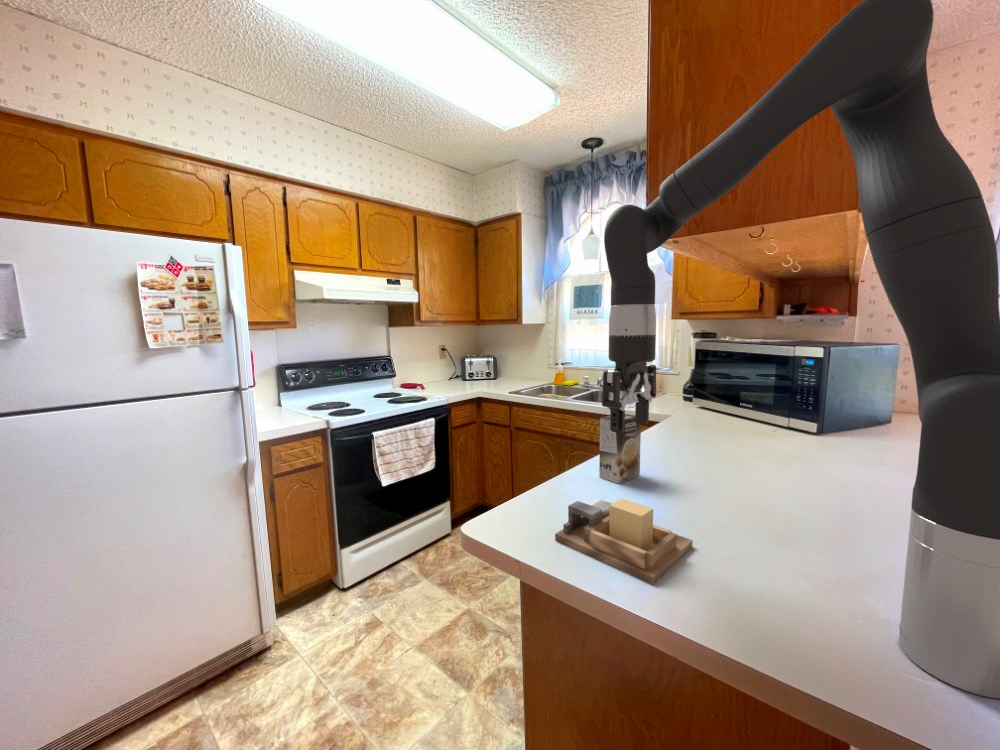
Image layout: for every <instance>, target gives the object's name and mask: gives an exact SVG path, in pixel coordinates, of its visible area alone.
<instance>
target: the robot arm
mask: <svg viewBox="0 0 1000 750" xmlns="http://www.w3.org/2000/svg"><path fill="white" fill-rule="evenodd" d="M933 7H934V6H933V3H932V0H862V1H861V2H860V3H858V4H857V5H855V6H854V7H853V8H852V9H850V11H848V12H847V13H846V14H845V15H844V16H842V17H841V18H840V19H839V20H838V21H837V22H836V23H835V24H834V25H833V26H832V27H831V28H830V29H829V30H828V31H827V32H826V33H825V34H824V35H823V36H822V37H821V38H819V40H818V41H816V43H815V44H813V46H812V47H811V48H810V49H809V50H808V51H807V52H806V53H805V54H804V56H802V58H801V59H799V60H798V62H796V63H795V64H794V65H793V66H792V67H791V68H790V69H789V70H788V71H787V72H786V73H785V74H784V75H783V76H782V77H781V78H780V79H779V80H778V81H777V82H776V83H775V84H774V85H773V86H771V88H770V89H769V90H768V91H767V92H766V93H765V94H764V95H762V97H760V99H759V100H757V101H756V102H755V103H754V104H753V105H752V106H751V107H750V108H749V109H748V110H747V111H746V112H744V113H743V114H742V116H740V117H739V118H738V119H737V120H736V121H734V122H733V124H731V125H730V126H729V127H728V128H726V130H725V131H723V132H722V133H721V134H719V135H718V136H717V137H716V138H715V139H714V140H713V141H711V142H710V143H709V144H707V145H706V146H705V147H704V148H703V149H701V150H700V151H699V152H697V153H696V154H695V155H694V156H693V157H691V158H690V159H689V160H688V161H686V162H685V163H684V164H682V165H681V166H680V167H678V169H676V170H675V171H674V172H673V173H671V174H670V175H669V176H667V177H666V179H664V180H663V181H662V182H661V184H660V186H659V190H658V193H659V194H658V195H659V196H657V197H656V198H655V199H653V201H652V202H651V203H650V204H649V205H648V206H646V207H645V208H642V207H640V206H637V205H636V204H635V205H633V204H624V205H621V206H618V208H616V209H615V210H614V211H612V213H611V214H610V215H609V217H608V218H607V221H606V224H605V227H604V233H603V243H604V251H605V256H606V262H607V267H608V272H609V276H610V279H611V280H610V282H611V283H610V311H609V319H608V359H609V361H611V362H614V363H615V365H614V366H615V367H614V370H612V369H610V370H609V369H604V370H603V372H602V373H603V375H602V395H601V396H602V397H601V405H602V408H603V407H604V408H607V409H608V410H610V415H609V416H610V429H611V431H612V432H616V433H622V432H624V430H625V414H626V411H625V410H626V409H625V408H626V406H627V403H628V401H629V400H631V399H632V398H633V397H634V399H635V400H636V402H635V411H634V413H635V414H634V415H635V421H636V422H637V423H641V425H646V424H648V423H649V421H650V419H649V418H650V417H649V416H650V403H652V399H655V398H656V397H657V366H656V364H647V363H650V362H653V361H655V360H656V341H657V338H656V337H657V313H656V305H655V304H656V276H655V275H656V274H655V273H654V271H653V270H652V269H651V267H650V266H649V262H648V254H650V253H652V252H653V251H655V250H657V249H658V248H660V247H661V246H663V245H664V244H665V243H666V242H667V241H668V240H669V239H670V238H672V236H673V235H675V234H676V233H677V232H678V231H679V230H680V229H681V228H682V227H683V226H684V225H685V224H686V223H687V221H689V219H691V218H693V217H694V216H696V215H698V214H699V213H701V212H702V211H704V210H705V209H706V208H707V207H709V206H711V204H713V203H715V202H716V201H718V200H719V199H720V198H722V197H723V196H725V195H726V194H727V193H729V192H730V191H731V190H733V189H734V188H735V187H736V186H738V185H739V184H740V183H741V182H742V181H743V180H744V179H746V177H748V176H749V175H750V174H751V173H752V172H753V171H754V170H755V168H757V167H758V165H760V164H761V163H762V162H763V160H765V158H767V156H769V154H770V153H772V151H774V150H775V148H777V147H778V146H779V145H780V144H781V143H782V142H783V141H784V140H786V138H788V137H789V136H791V134H792V133H794V132H795V131H796V130H798V129H800V127H802V126H803V125H804V124H805V123H807V122H809V121H810V120H811V119H812V118H814V117H816V116H817V115H819V114H820V113H821V112H823V111H824V110H826V109H828V108H830V109H831V110H832V113H833V114H834V116H835V118H836V120H837V122H838V124H839V127H840V129H841V131H842V132H843V135H844V137H845V140H846V142H847V145H848V146H849V149H850V152H851V155H852V158H853V162H854V168H855V171H856V172H855V173H856V181H857V184H856V185H857V193H858V194H857V195H858V202H859V209H860V215H861V218H862V223H863V229H864V233H865V237H866V241H867V244H868V248H869V251H870V254H871V257H872V260H873V263H874V267H875V269H876V271H877V275H878V277H879V279H880V283H881V284H882V287H883V290H884V292H885V294H886V297H887V298H888V302H889V303H890V306H891V307H892V310H893V311H894V314H895V315H896V318H897V320H898V321H899V323H900V326H901V327H902V330H903V332H904V334H905V336H906V339H907V343H908V346H909V350H910V354H911V358H912V366H913V369H914V370H913V371H914V376H915V384H916V392H917V401H918V403H917V405H918V406H917V407H918V416H919V417H918V418H919V421H920V423H921V428H920V438H919V448H918V449H919V450H918V460H917V469H916V475H915V476H916V477H915V482H914V485H913V487H912V493H911V494H912V496H911V509H910V519H909V530H908V539H907V540H908V542H907V552H906V559H905V560H906V561H905V569H904V573H905V574H904V581H903V590H902V591H903V592H902V601H901V612H900V621H899V629H898V630H899V633H898V634H899V635H898V645H899V648H900V649H901V650H902V652H903V654H904V655H905V656H906V657H907V658H908V659H909V660H910V661H912V663H914V664H915V665H917V666H918V667H920V668H921V669H923V671H925V672H927V673H928V674H930V675H931V676H933V677H935V678H937V679H939V680H941V681H942V682H945V683H947V684H949V685H951V686H953V687H956V688H958V689H960V690H963V691H965V692H968V693H969V692H970V693H972V694H975V695H978V696H983V697H987V698H992V699H993V698H994V699H1000V298H999V297H1000V293H999V292H1000V291H999V289H1000V288H999V287H1000V286H999V285H1000V284H999V283H1000V282H999V279H1000V278H999V263H998V262H999V261H998V260H999V259H998V251H997V243H996V239H995V233H994V229H993V226H992V222H991V219H990V216H989V213H988V209H987V206H986V203H985V201H984V200H985V199H984V198H983V194H982V191H981V189H980V187H979V184H978V182H977V181H976V178H975V176H974V174H973V173H972V171H971V169H970V168H969V166H968V164H967V163H966V162H965V160H964V159H963V158H962V156H961V155H960V153H958V151H957V149H956V148H955V147H954V146H953V145H952V143H951V142H950V141H949V139H948V138H947V137H946V135H945V134H944V132H943V131H942V128H941V127H940V125H939V123H938V120H937V118H936V114H935V110H934V106H933V102H932V101H933V100H932V97H931V91H930V87H929V86H930V84H929V78H928V71H927V70H928V68H927V55H928V49H929V44H930V41H931V37H932V33H933V32H932V31H933V26H934V8H933ZM609 394H610V395H609Z"/></svg>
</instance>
